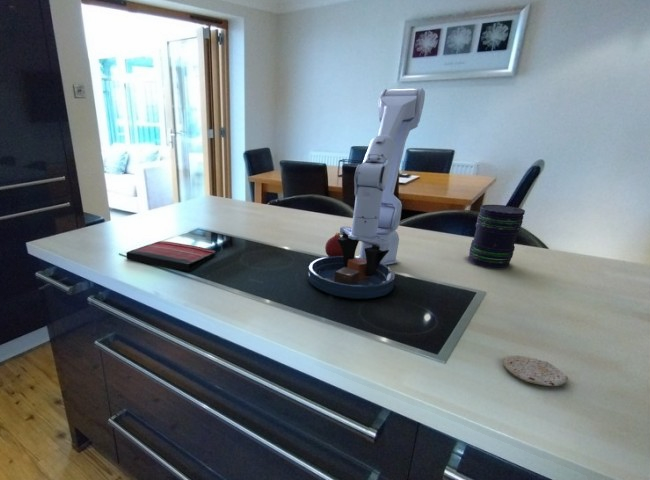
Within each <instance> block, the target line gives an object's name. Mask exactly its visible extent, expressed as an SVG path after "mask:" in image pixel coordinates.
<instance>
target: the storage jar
mask: <svg viewBox="0 0 650 480" xmlns="http://www.w3.org/2000/svg"><path fill="white" fill-rule="evenodd" d="M525 213H526V210H525V209H523V208H520V207H516V206H511V205H503V204H502V205H501V204H482V205H480V208H479V213H478V215H477V219H476V223H475V228H476V229H475V232H474V236H473V239H472V240H471V242H470V246H469V250H468V251H469V252H468V256H467V261H468V263H471V264H472V265H475V266H477V267H482V268H485V269H492V270H493V269H495V270H503V269H504V270H505V269H508V268H509V267H510V262H511V260H512V258H513V256H514V253H515V243H516V240H517V236H518V234H519V233H520V231H521V227H522V225H523V222H524V215H525Z"/></svg>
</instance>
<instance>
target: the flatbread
mask: <svg viewBox="0 0 650 480" xmlns="http://www.w3.org/2000/svg"><path fill="white" fill-rule="evenodd" d="M502 363H503V366H504V367H505V369H506V370H507V371H508V372H509V373H511V374H512V375H514V376H515V377H517V378H518V379H520V380H522V381H524V382H527V383H531V384H535V385H540V386H546V387H558V386H562V385H564V384H566V383H567V382H568V380H569V377H568V375H566V374H565V373H564V372H562V371H561V370H560V369H559V368H557V367H556V366H555V365H553V364H552V363H550V362H549V361H546V360H541V359H538V358H535V357H530V356H524V355H509V356H505V357H504V358H503V359H502Z"/></svg>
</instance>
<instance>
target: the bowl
mask: <svg viewBox="0 0 650 480" xmlns="http://www.w3.org/2000/svg"><path fill="white" fill-rule="evenodd" d="M355 258H359V257H355V256H354V259H355ZM363 259H364V258H363ZM365 260H366V259H365ZM344 267H346V268H347V266H346V265H344V258H343V256H331V257H329V256H325V257H320V258H317V259H315V260H313V261H312V262H310V264H309V266H308V276H307V278H308V281H309V283H310V284H311V285H312V286H313V287H314V288H316V289H317V290H319V291H322V292H324V293H326V294H328V295H331V296H334V297H340V298H343V299H351V300H368V299H377V298H379V297H384V296H386V295H388V294H390V293H391V292H392V290H393V289H394V285H395V280H396V273H395V272H394V271H393V269H392V268H390V267H389V266H387V265H384V264H381V263H380V264H379V266H378V268H377V270H376V272H375V274H374V275H372V276H370V278H365V279H361V280H359V282H358V285H350V284H343V283H338V282H334V279H335V271H337V270H339V269H342V268H344Z"/></svg>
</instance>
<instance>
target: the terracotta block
mask: <svg viewBox="0 0 650 480" xmlns="http://www.w3.org/2000/svg"><path fill="white" fill-rule="evenodd" d="M347 268H349V269H353V270H356V271H359V272H360V274H359V280H361V279H365V278H370V276H366V260H365V259H363V258H361V257H360V258H355V259H349V260H348V265H347Z"/></svg>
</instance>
